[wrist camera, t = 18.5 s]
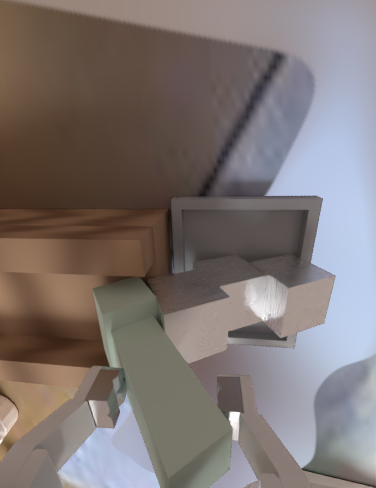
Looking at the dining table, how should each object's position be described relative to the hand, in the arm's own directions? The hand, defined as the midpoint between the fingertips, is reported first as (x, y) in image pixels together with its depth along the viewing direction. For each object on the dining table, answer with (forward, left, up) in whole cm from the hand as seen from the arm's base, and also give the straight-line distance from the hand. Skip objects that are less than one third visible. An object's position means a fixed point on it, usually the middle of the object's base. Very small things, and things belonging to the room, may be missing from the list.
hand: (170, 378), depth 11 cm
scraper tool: (+4, 0, -5) cm, 7 cm away
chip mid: (-2, 0, -10) cm, 10 cm away
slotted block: (+12, 0, -11) cm, 16 cm away
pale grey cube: (-8, 0, -6) cm, 10 cm away
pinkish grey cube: (+1, 0, -6) cm, 6 cm away
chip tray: (-4, 0, -11) cm, 12 cm away
